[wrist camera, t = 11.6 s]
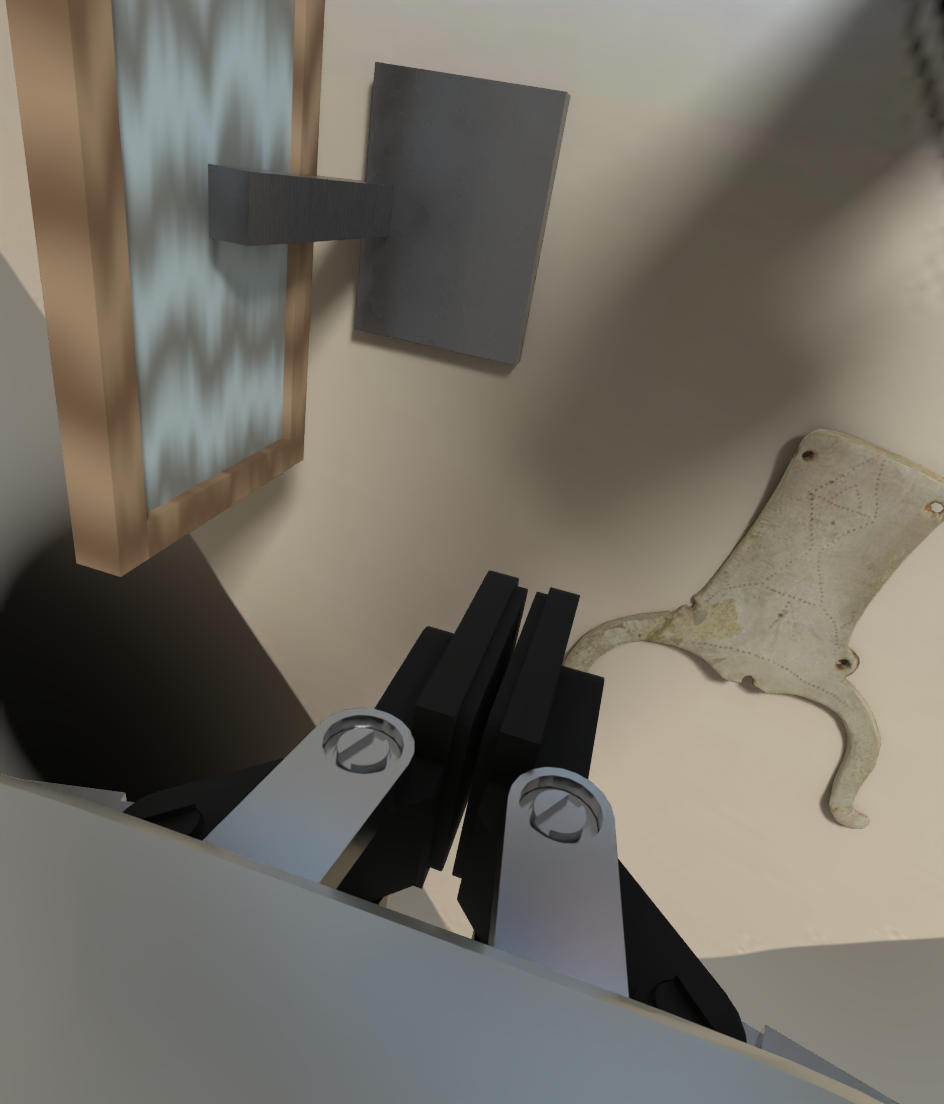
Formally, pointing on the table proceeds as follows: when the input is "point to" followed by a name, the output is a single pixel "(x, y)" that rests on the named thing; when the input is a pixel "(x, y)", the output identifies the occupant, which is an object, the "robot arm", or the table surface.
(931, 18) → the table surface
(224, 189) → the frame stand
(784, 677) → the decorative wall piece
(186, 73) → the picture frame
